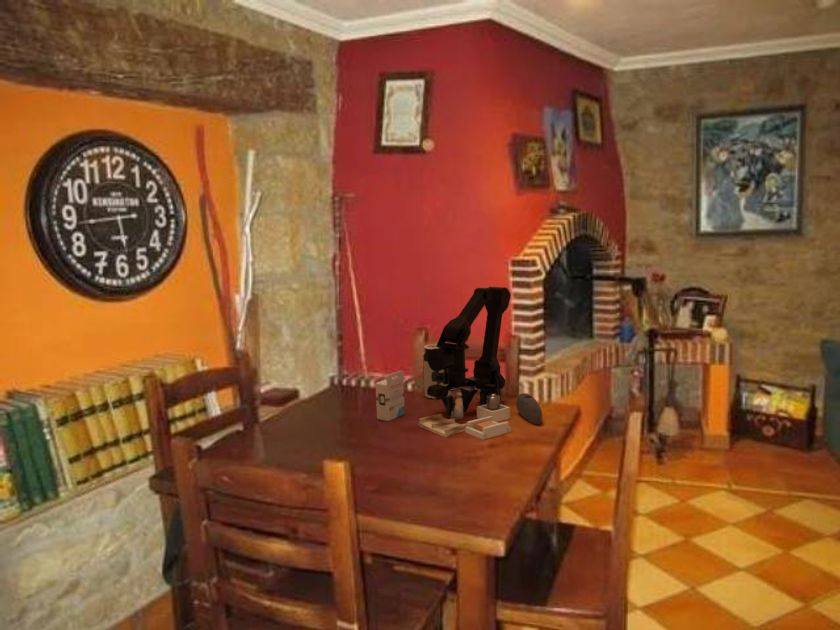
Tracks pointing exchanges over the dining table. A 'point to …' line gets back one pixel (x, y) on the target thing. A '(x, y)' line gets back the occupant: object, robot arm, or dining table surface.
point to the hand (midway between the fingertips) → (457, 413)
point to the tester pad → (483, 425)
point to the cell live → (457, 407)
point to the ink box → (390, 397)
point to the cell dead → (493, 402)
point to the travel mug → (429, 369)
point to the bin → (494, 413)
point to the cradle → (487, 428)
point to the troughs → (441, 425)
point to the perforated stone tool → (529, 408)
